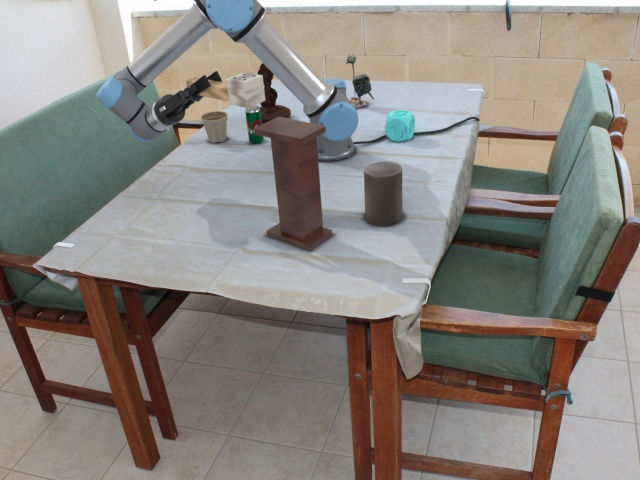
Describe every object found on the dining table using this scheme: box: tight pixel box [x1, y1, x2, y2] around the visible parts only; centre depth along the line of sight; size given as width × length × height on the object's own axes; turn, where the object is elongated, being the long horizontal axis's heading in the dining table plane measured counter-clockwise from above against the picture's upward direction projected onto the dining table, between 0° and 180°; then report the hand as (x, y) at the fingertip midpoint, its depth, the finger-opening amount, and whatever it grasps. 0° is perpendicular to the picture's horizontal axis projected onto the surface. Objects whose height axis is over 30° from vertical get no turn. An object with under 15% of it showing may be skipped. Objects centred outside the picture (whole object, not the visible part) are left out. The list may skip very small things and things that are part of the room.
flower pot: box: [199, 110, 229, 144], centre depth 221 cm, size 9×9×9 cm
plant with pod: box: [345, 52, 375, 109], centre depth 239 cm, size 8×11×20 cm
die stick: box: [185, 72, 265, 109], centre depth 155 cm, size 22×6×6 cm, turn 52°
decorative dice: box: [384, 109, 416, 142], centre depth 212 cm, size 8×8×8 cm
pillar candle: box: [363, 161, 404, 227], centre depth 164 cm, size 10×10×15 cm
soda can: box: [244, 105, 265, 145], centre depth 216 cm, size 5×5×12 cm
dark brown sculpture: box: [257, 62, 292, 123], centre depth 233 cm, size 15×15×20 cm
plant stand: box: [254, 117, 333, 252], centre depth 155 cm, size 14×9×28 cm, turn 52°
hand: (212, 78), depth 156 cm, fingers closed on die stick, 3 cm apart
